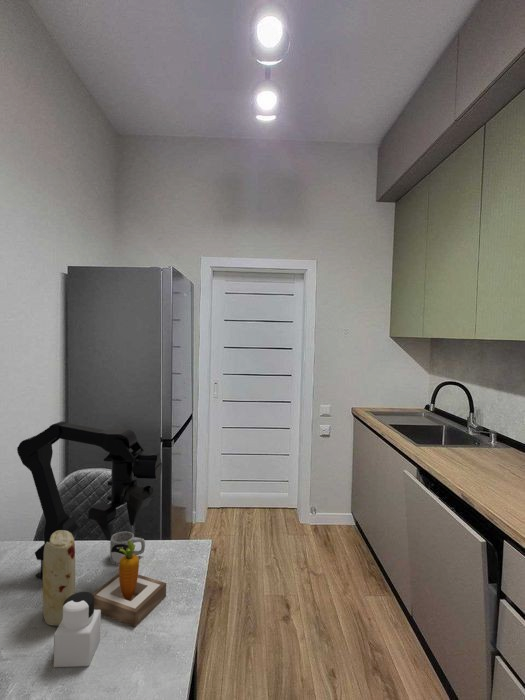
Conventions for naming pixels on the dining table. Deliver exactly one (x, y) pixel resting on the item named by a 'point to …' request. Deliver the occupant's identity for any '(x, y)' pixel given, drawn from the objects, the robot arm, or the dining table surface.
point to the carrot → (128, 571)
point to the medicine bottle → (77, 632)
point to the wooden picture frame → (141, 589)
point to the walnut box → (125, 612)
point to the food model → (58, 575)
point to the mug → (123, 545)
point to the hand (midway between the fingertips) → (121, 532)
